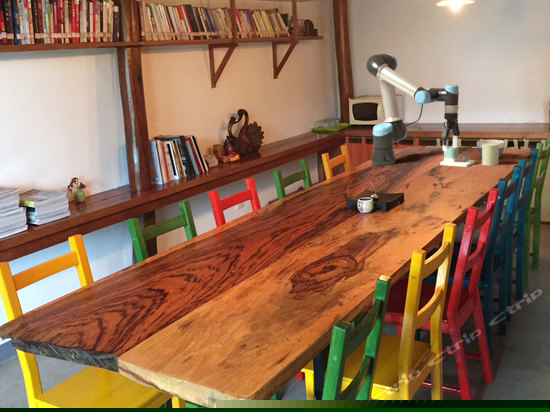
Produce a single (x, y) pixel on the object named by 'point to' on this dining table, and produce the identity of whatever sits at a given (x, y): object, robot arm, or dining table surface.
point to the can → (490, 154)
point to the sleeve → (451, 154)
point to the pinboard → (460, 161)
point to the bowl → (500, 142)
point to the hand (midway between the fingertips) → (450, 148)
